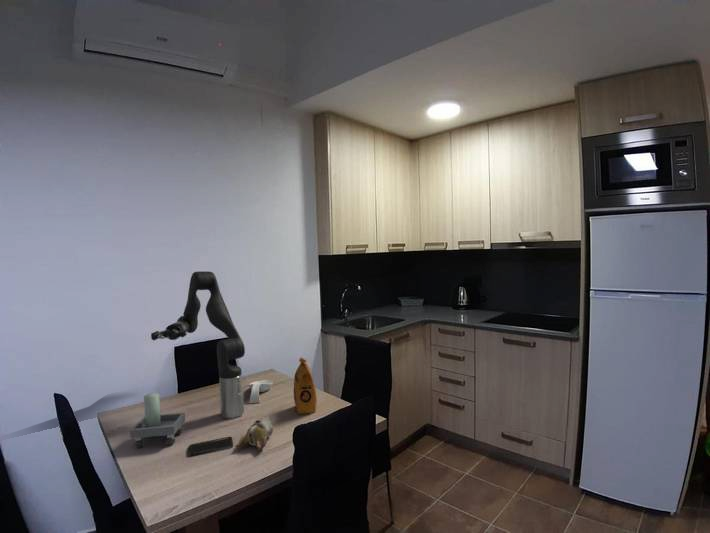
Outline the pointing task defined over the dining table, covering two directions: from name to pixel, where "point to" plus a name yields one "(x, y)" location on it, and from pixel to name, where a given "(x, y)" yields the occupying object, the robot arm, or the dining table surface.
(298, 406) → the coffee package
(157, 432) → the tray
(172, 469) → the dining table surface
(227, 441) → the phone
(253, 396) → the white t-shaped piece
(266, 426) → the ceramic sculpture
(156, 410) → the pale green cylinder
